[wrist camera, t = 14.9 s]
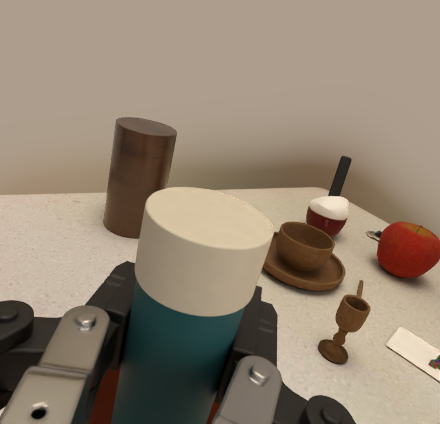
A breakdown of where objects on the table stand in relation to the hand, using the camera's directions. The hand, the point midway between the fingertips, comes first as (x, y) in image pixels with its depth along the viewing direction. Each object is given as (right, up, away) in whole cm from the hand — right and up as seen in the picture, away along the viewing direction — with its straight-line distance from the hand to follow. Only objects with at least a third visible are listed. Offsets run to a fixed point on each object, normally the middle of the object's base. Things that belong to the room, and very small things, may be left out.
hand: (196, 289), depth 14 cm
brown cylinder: (-11, +1, +33) cm, 35 cm away
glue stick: (-2, -7, 0) cm, 7 cm away
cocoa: (+18, 0, +46) cm, 50 cm away
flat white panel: (+22, -12, +23) cm, 34 cm away
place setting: (+9, -6, +30) cm, 32 cm away
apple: (+27, -6, +40) cm, 48 cm away
